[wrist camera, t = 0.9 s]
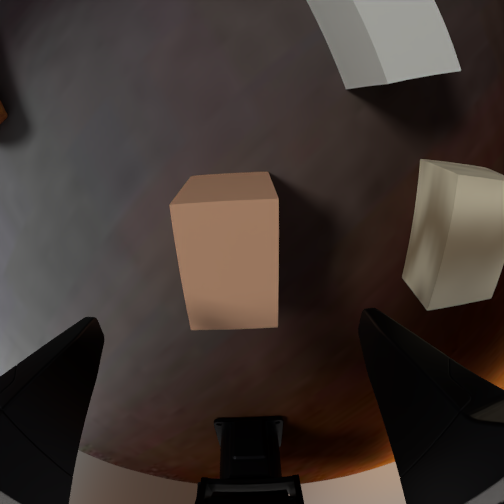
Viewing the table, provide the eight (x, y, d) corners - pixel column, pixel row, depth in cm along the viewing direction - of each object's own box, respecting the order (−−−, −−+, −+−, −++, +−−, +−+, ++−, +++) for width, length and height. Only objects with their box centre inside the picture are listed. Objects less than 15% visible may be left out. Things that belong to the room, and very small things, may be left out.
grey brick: (406, 75, 13) (461, 70, 8) (345, 89, 13) (388, 83, 9) (366, -17, 10) (407, -50, 6) (301, -8, 11) (325, -48, 6)
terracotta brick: (269, 271, 18) (277, 327, 13) (202, 274, 18) (191, 329, 13) (268, 171, 15) (278, 198, 11) (191, 175, 15) (169, 204, 11)
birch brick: (462, 269, 19) (491, 298, 15) (400, 275, 19) (427, 310, 15) (483, 166, 15) (522, 184, 11) (418, 158, 15) (458, 174, 11)
